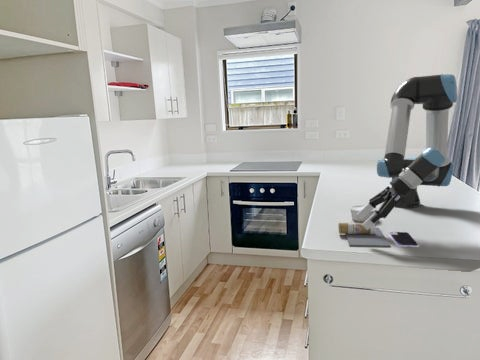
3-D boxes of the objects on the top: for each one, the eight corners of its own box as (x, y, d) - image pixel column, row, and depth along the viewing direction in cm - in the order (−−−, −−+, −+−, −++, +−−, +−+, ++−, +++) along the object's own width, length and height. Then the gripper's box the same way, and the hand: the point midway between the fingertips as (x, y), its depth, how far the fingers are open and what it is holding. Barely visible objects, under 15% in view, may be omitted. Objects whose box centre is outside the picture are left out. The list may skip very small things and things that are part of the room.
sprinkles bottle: (339, 225, 138) (375, 225, 135) (338, 220, 142) (373, 220, 139) (339, 236, 139) (375, 236, 136) (338, 231, 143) (373, 231, 140)
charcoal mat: (343, 228, 148) (343, 227, 148) (378, 229, 145) (378, 227, 145) (349, 246, 128) (349, 244, 128) (390, 247, 126) (390, 245, 126)
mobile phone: (397, 244, 126) (387, 231, 140) (397, 247, 126) (387, 233, 140) (420, 245, 124) (408, 231, 139) (420, 248, 125) (408, 234, 139)
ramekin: (362, 214, 167) (362, 203, 166) (381, 220, 157) (382, 208, 156) (344, 218, 162) (344, 207, 161) (363, 224, 152) (363, 212, 151)
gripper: (389, 170, 143) (350, 206, 148) (407, 182, 119) (359, 224, 124) (403, 183, 143) (363, 219, 148) (423, 197, 119) (375, 239, 124)
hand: (361, 221), depth 136 cm, fingers open, 13 cm apart
